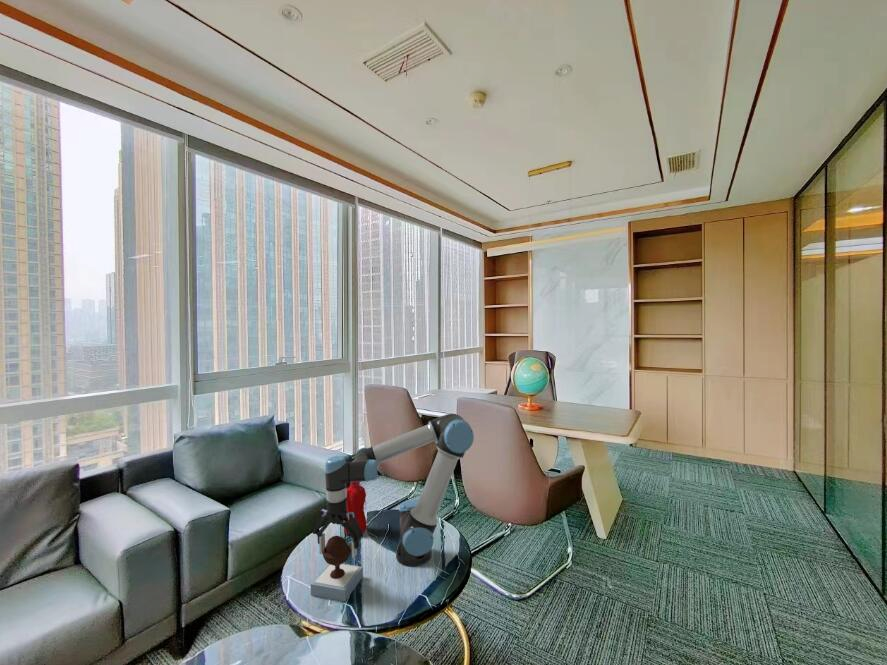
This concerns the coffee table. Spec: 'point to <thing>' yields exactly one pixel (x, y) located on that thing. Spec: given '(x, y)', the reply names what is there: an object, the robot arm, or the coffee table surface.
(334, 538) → the ice cream bowl
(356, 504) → the water bottle
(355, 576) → the base plinth
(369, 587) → the coffee table surface
